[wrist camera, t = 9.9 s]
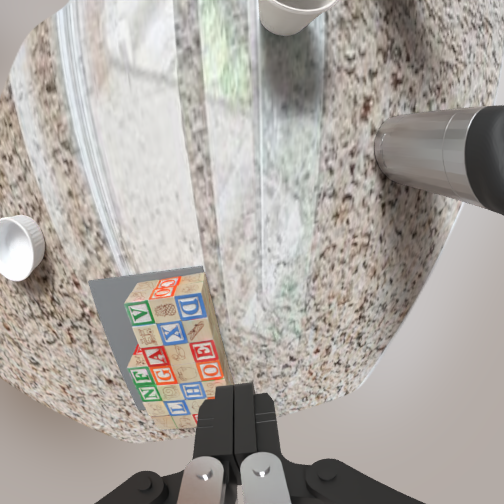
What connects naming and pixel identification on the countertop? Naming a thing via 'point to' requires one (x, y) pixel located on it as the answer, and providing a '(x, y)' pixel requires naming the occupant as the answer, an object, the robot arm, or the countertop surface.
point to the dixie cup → (291, 14)
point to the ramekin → (20, 247)
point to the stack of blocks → (176, 349)
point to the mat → (125, 315)
